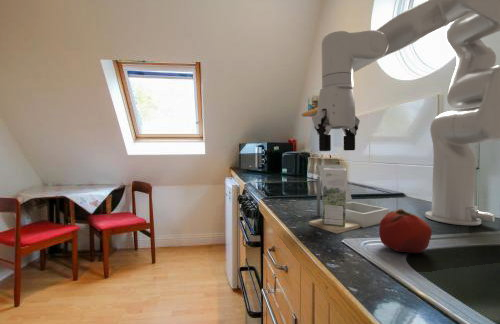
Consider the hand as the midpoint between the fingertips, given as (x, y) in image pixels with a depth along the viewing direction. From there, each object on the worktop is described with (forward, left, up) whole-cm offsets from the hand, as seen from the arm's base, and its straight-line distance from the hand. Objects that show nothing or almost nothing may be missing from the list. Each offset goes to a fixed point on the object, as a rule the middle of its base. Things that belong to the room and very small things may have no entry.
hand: (337, 150), depth 65 cm
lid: (+9, -11, -10) cm, 17 cm away
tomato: (-18, +2, -20) cm, 27 cm away
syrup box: (0, +1, -19) cm, 19 cm away
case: (+3, -10, -20) cm, 22 cm away
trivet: (0, +1, -20) cm, 20 cm away
